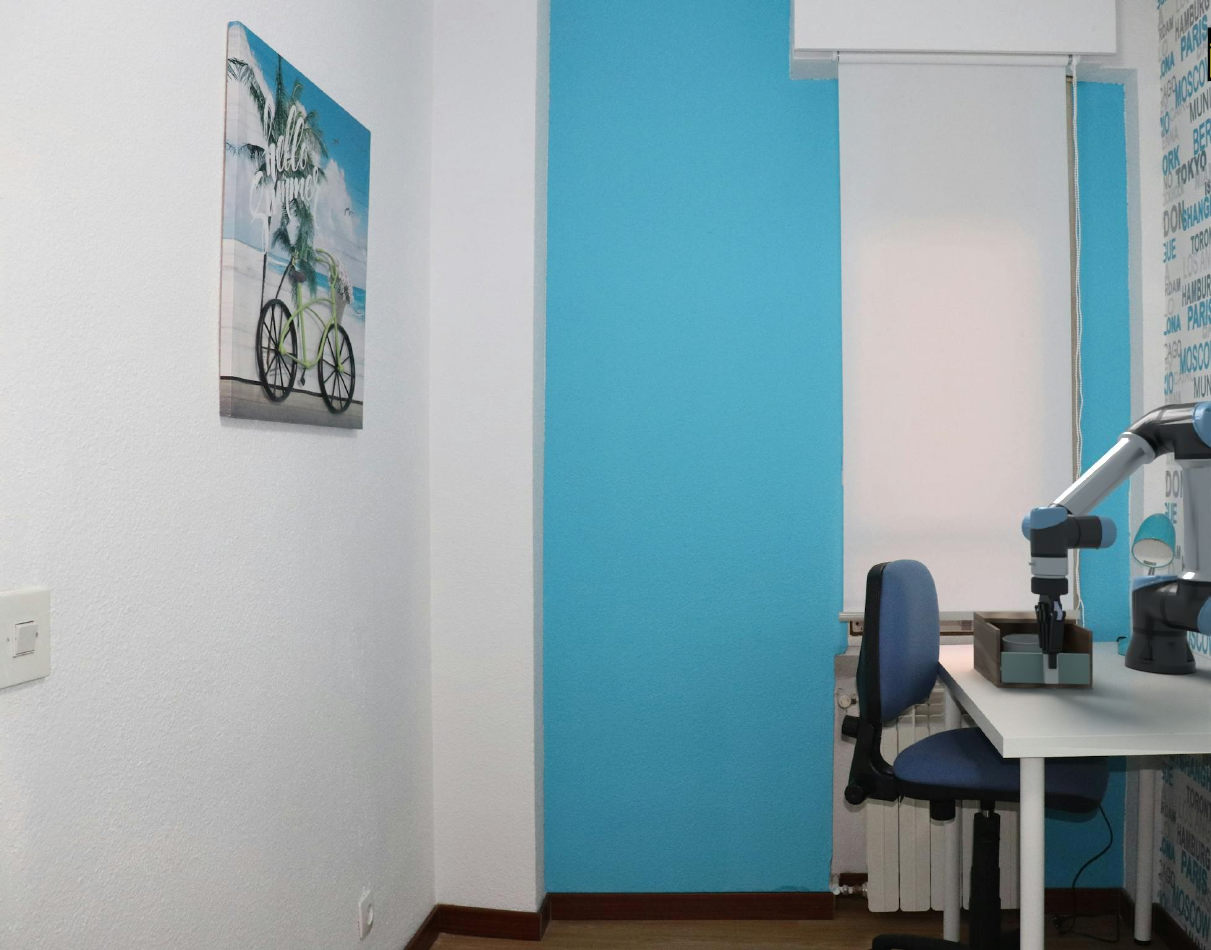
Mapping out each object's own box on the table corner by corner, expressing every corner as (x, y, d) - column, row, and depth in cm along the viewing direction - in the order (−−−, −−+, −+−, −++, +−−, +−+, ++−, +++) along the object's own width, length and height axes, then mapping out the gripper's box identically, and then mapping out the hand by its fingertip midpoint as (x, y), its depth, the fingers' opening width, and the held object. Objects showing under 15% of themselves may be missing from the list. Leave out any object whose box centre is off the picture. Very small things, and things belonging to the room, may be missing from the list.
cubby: (1061, 669, 228) (1061, 612, 228) (1092, 689, 208) (1092, 626, 208) (973, 667, 231) (973, 611, 231) (996, 686, 211) (996, 625, 211)
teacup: (1059, 677, 211) (1059, 642, 211) (1008, 675, 213) (1008, 640, 213) (1042, 664, 224) (1041, 631, 224) (994, 663, 226) (994, 630, 226)
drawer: (1058, 665, 227) (1058, 638, 227) (1089, 684, 207) (1089, 654, 207) (979, 663, 229) (979, 637, 229) (1002, 682, 210) (1002, 653, 210)
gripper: (1022, 574, 213) (1024, 677, 212) (1041, 578, 201) (1043, 688, 200) (1056, 574, 212) (1058, 678, 211) (1078, 578, 200) (1079, 689, 199)
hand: (1051, 683), depth 206 cm, fingers closed
